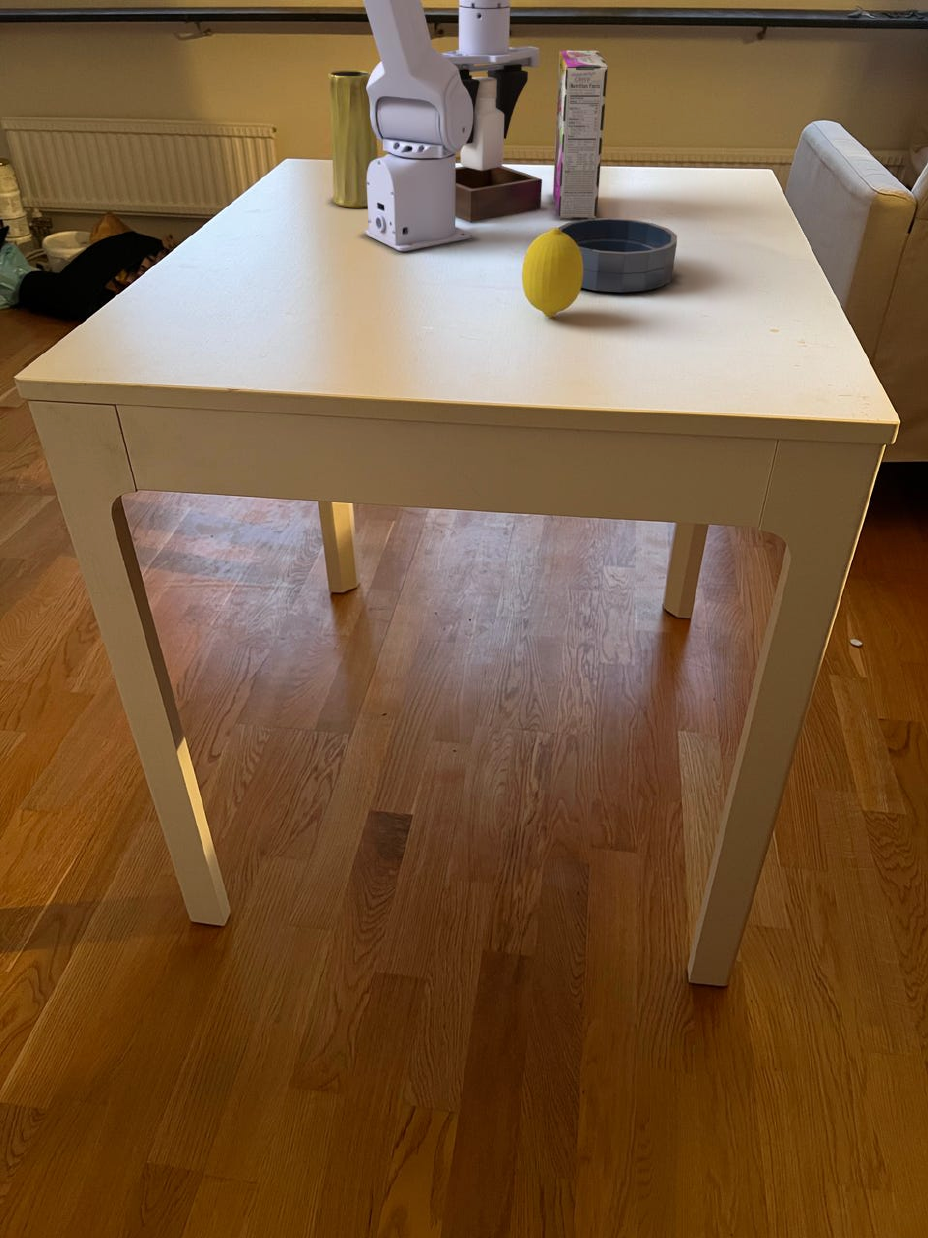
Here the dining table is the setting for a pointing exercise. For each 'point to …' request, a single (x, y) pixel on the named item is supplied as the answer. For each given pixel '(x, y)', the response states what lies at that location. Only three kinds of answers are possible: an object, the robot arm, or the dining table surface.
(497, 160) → the white bottle
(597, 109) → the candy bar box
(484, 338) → the dining table surface
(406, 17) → the robot arm
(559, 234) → the lemon
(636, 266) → the bowl
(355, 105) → the vase
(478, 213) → the box
